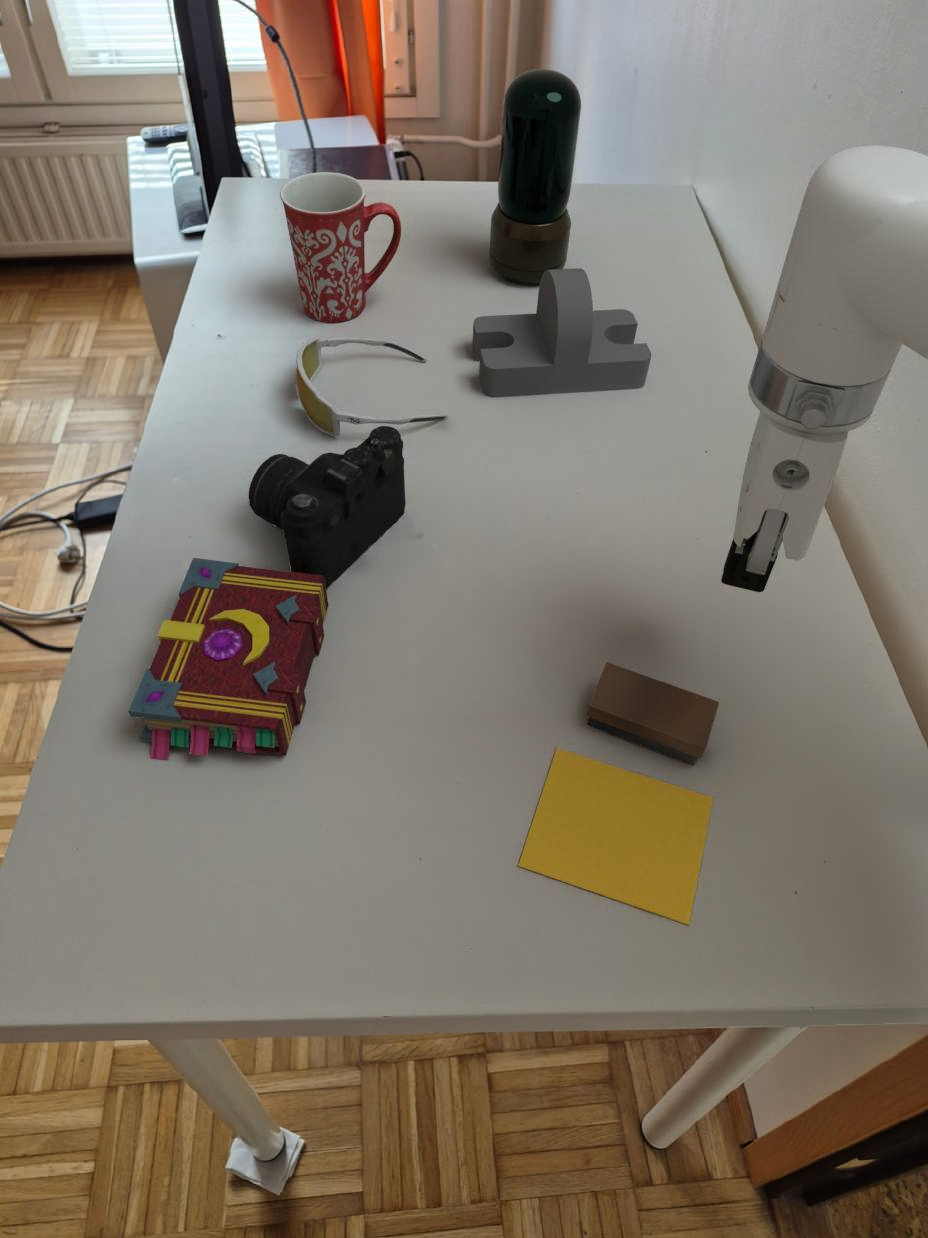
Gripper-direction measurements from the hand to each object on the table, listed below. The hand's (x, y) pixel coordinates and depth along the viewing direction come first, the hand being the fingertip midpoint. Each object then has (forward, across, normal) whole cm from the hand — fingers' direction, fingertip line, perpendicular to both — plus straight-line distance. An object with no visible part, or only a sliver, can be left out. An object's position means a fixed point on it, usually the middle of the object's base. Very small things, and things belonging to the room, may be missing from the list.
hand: (742, 580), depth 68 cm
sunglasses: (+7, +20, +40) cm, 45 cm away
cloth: (+9, -19, +4) cm, 21 cm away
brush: (+8, -9, +4) cm, 13 cm away
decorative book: (+8, -16, +36) cm, 40 cm away
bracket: (+8, +33, +23) cm, 41 cm away
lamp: (+7, +51, +32) cm, 61 cm away
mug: (+6, +36, +49) cm, 61 cm away
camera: (+7, +1, +36) cm, 37 cm away
